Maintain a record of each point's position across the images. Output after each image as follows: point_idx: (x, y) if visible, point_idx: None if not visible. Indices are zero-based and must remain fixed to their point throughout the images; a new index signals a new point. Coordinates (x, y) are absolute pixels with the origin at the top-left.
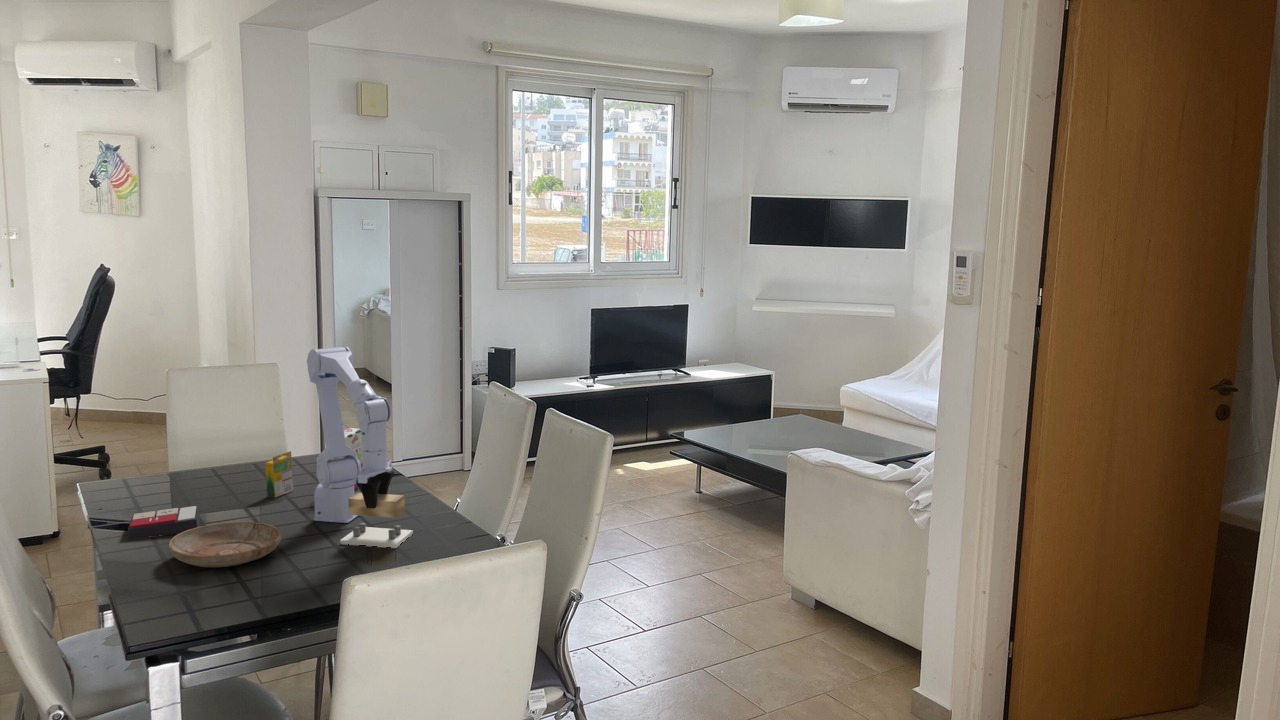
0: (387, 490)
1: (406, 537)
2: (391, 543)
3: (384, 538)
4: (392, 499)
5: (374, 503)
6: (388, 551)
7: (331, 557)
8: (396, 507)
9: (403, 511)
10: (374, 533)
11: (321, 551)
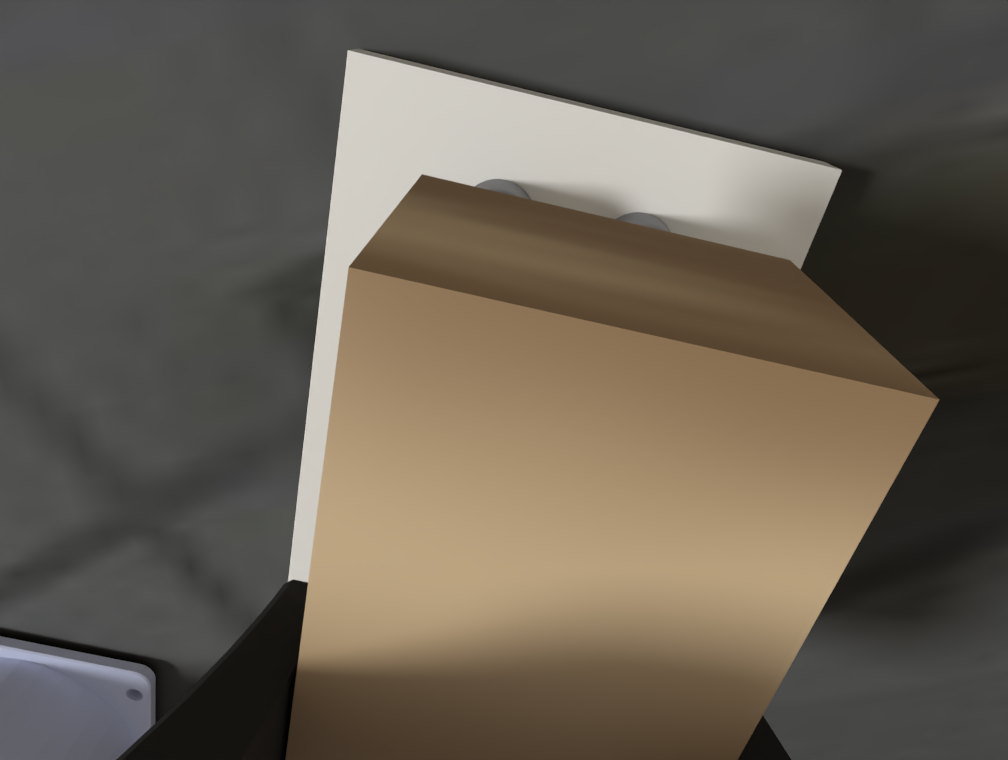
0: (204, 718)
1: (544, 96)
2: (805, 227)
3: None
4: (710, 507)
5: (775, 751)
6: (903, 226)
7: (930, 641)
8: (856, 328)
9: (492, 194)
10: None
11: (775, 715)
